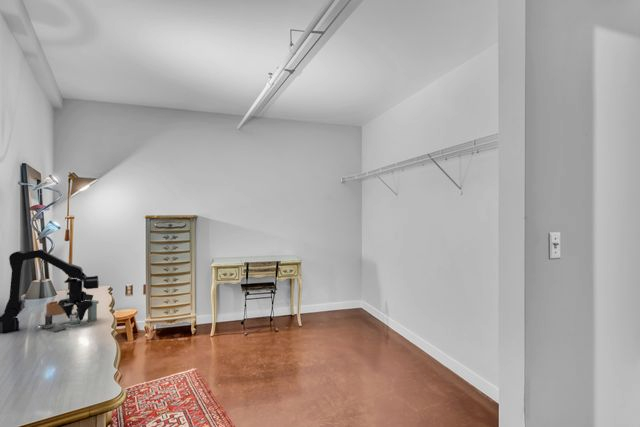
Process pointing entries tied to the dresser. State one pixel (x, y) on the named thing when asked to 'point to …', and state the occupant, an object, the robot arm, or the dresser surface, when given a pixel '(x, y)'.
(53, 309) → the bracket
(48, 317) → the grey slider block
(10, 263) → the robot arm
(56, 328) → the rail
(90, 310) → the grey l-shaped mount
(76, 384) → the dresser surface
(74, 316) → the silver bell
